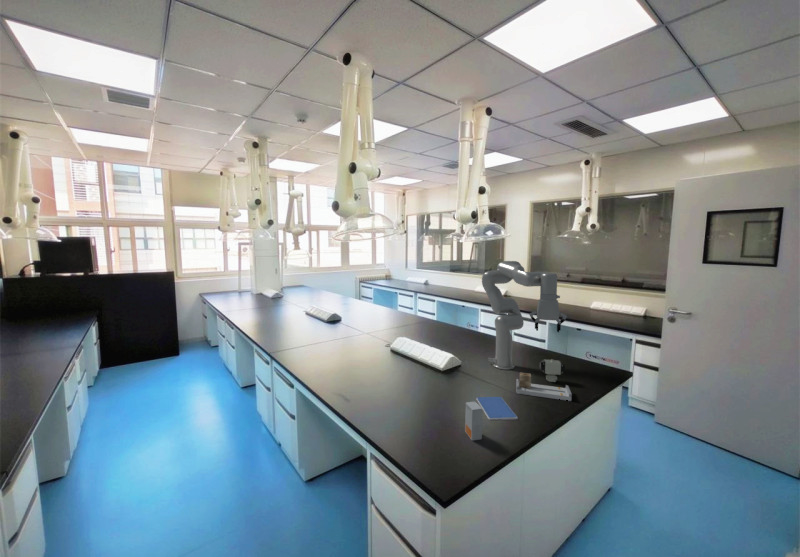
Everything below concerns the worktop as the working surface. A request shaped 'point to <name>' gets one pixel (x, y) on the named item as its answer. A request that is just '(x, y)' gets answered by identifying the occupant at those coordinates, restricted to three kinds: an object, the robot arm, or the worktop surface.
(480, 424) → the skincare box
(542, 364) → the pneumatic valve
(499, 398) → the tablet computer
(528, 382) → the fader tab
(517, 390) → the fader track
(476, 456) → the worktop surface
